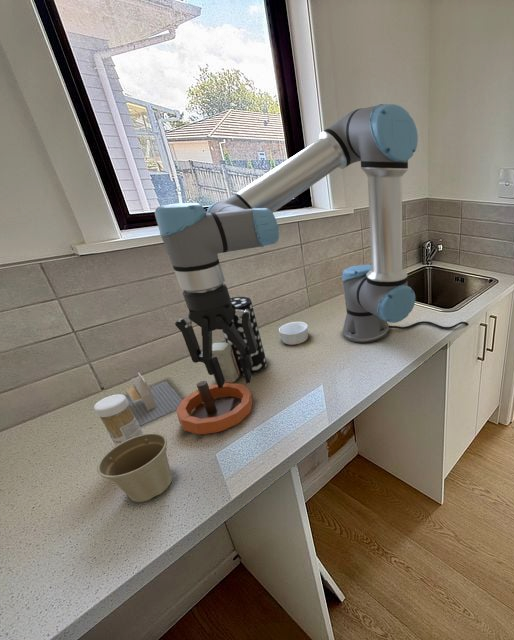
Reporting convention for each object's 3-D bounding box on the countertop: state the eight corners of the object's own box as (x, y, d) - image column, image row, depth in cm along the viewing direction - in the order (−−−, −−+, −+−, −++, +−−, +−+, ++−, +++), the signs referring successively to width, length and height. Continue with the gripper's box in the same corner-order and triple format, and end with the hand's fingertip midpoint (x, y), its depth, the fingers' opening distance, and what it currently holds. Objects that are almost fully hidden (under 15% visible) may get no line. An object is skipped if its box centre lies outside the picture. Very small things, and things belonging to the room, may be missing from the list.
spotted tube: (261, 374, 92) (244, 308, 83) (230, 376, 91) (208, 310, 82) (270, 358, 100) (255, 296, 91) (241, 360, 99) (222, 297, 90)
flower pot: (109, 520, 55) (85, 485, 52) (128, 475, 63) (109, 442, 59) (176, 499, 59) (159, 465, 55) (186, 459, 66) (172, 426, 63)
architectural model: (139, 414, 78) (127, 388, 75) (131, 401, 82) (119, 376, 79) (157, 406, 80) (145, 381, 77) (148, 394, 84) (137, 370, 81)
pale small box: (242, 373, 93) (233, 341, 88) (234, 382, 89) (223, 350, 84) (224, 372, 93) (213, 341, 88) (214, 382, 89) (203, 350, 84)
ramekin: (309, 331, 115) (307, 319, 113) (310, 343, 107) (307, 331, 105) (281, 335, 112) (279, 323, 110) (280, 348, 105) (277, 335, 103)
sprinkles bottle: (117, 458, 67) (87, 405, 61) (142, 441, 71) (115, 390, 65) (131, 465, 65) (102, 412, 59) (156, 448, 69) (130, 396, 63)
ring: (255, 389, 86) (254, 380, 85) (246, 428, 74) (244, 417, 73) (191, 396, 82) (189, 386, 81) (170, 438, 70) (167, 427, 68)
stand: (235, 400, 82) (225, 370, 78) (228, 422, 76) (217, 391, 72) (198, 407, 80) (186, 376, 76) (188, 430, 73) (174, 398, 69)
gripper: (256, 275, 71) (279, 366, 82) (158, 285, 67) (195, 379, 77) (251, 287, 65) (276, 384, 75) (142, 299, 60) (185, 400, 71)
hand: (235, 381), depth 76 cm, fingers open, 5 cm apart
